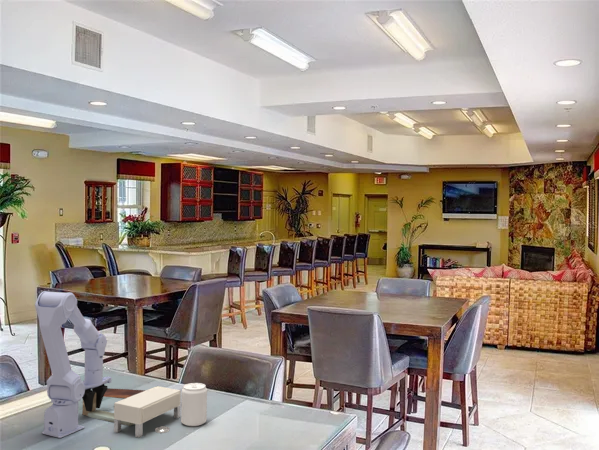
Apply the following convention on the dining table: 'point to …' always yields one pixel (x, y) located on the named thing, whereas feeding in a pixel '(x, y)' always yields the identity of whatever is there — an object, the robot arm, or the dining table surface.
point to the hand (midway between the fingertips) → (93, 409)
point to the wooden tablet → (121, 393)
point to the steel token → (162, 429)
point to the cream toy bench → (146, 407)
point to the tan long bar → (101, 414)
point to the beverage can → (194, 404)
